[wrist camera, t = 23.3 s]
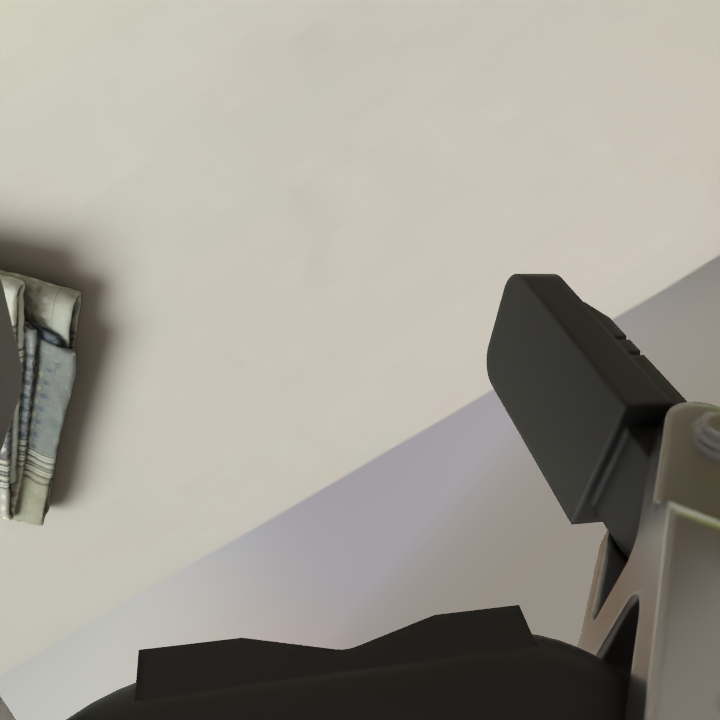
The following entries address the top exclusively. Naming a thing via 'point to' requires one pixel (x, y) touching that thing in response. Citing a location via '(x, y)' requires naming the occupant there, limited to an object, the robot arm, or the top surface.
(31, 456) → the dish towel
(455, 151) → the top surface
